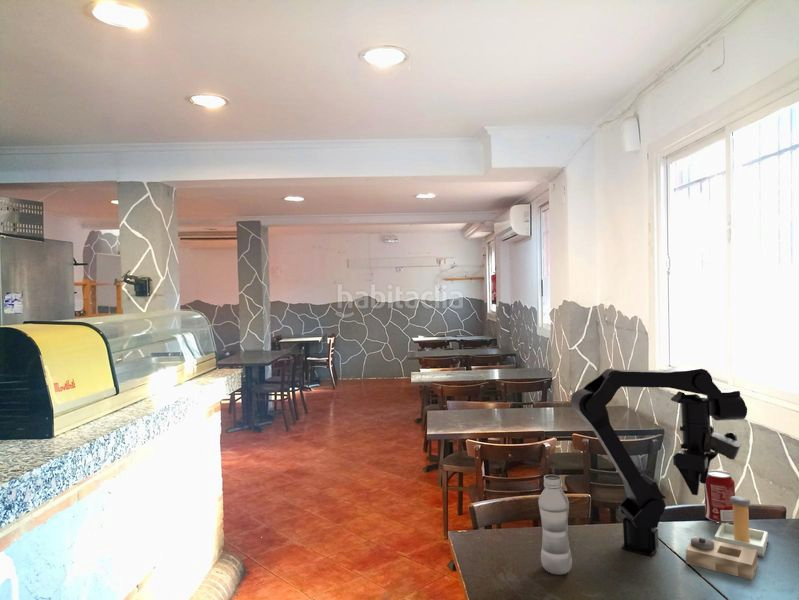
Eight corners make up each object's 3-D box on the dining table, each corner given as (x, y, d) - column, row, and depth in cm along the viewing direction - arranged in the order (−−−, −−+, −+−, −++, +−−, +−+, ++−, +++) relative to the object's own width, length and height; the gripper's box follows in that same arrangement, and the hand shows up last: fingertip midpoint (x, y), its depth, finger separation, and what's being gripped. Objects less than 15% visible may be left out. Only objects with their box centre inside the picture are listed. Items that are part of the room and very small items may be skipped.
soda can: (741, 526, 130) (738, 477, 130) (711, 525, 132) (708, 477, 132) (729, 515, 137) (727, 469, 137) (701, 514, 138) (699, 468, 138)
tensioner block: (686, 563, 113) (685, 542, 113) (694, 549, 119) (693, 529, 119) (752, 580, 106) (751, 558, 106) (757, 564, 112) (756, 543, 112)
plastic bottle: (572, 565, 115) (568, 473, 115) (572, 580, 108) (567, 483, 108) (542, 561, 117) (538, 471, 117) (540, 576, 110) (535, 481, 111)
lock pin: (731, 542, 121) (729, 500, 121) (733, 536, 124) (731, 494, 124) (750, 546, 118) (748, 503, 118) (752, 540, 121) (750, 498, 121)
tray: (715, 545, 121) (714, 536, 121) (722, 531, 128) (721, 522, 128) (763, 556, 115) (763, 546, 115) (768, 541, 122) (767, 531, 122)
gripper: (729, 434, 109) (733, 509, 109) (742, 417, 123) (746, 483, 123) (671, 427, 116) (674, 498, 116) (689, 412, 131) (693, 475, 130)
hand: (699, 488), depth 121 cm, fingers open, 9 cm apart
